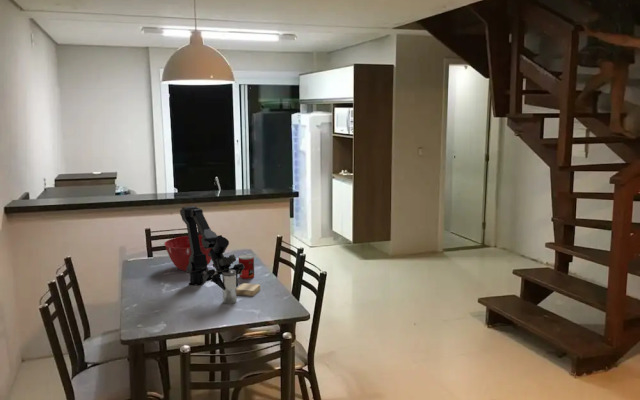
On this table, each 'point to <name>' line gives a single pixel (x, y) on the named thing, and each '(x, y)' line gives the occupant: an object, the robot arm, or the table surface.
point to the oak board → (247, 289)
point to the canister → (229, 286)
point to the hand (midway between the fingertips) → (230, 288)
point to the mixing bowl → (183, 251)
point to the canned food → (247, 266)
